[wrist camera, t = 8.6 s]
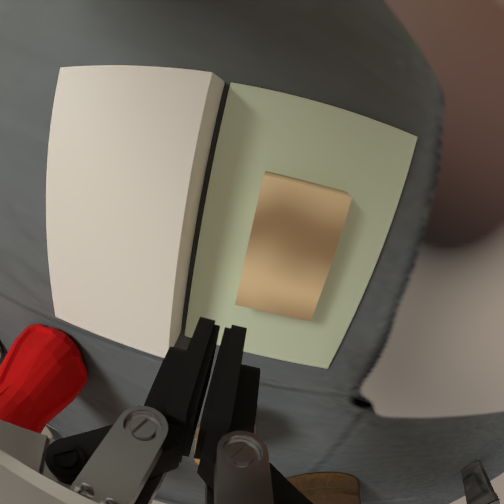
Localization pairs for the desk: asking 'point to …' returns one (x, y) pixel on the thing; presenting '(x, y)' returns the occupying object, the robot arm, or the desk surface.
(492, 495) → the beverage cup
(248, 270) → the wooden tile
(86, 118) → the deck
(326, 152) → the mat
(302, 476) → the wooden container
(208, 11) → the desk surface
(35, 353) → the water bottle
